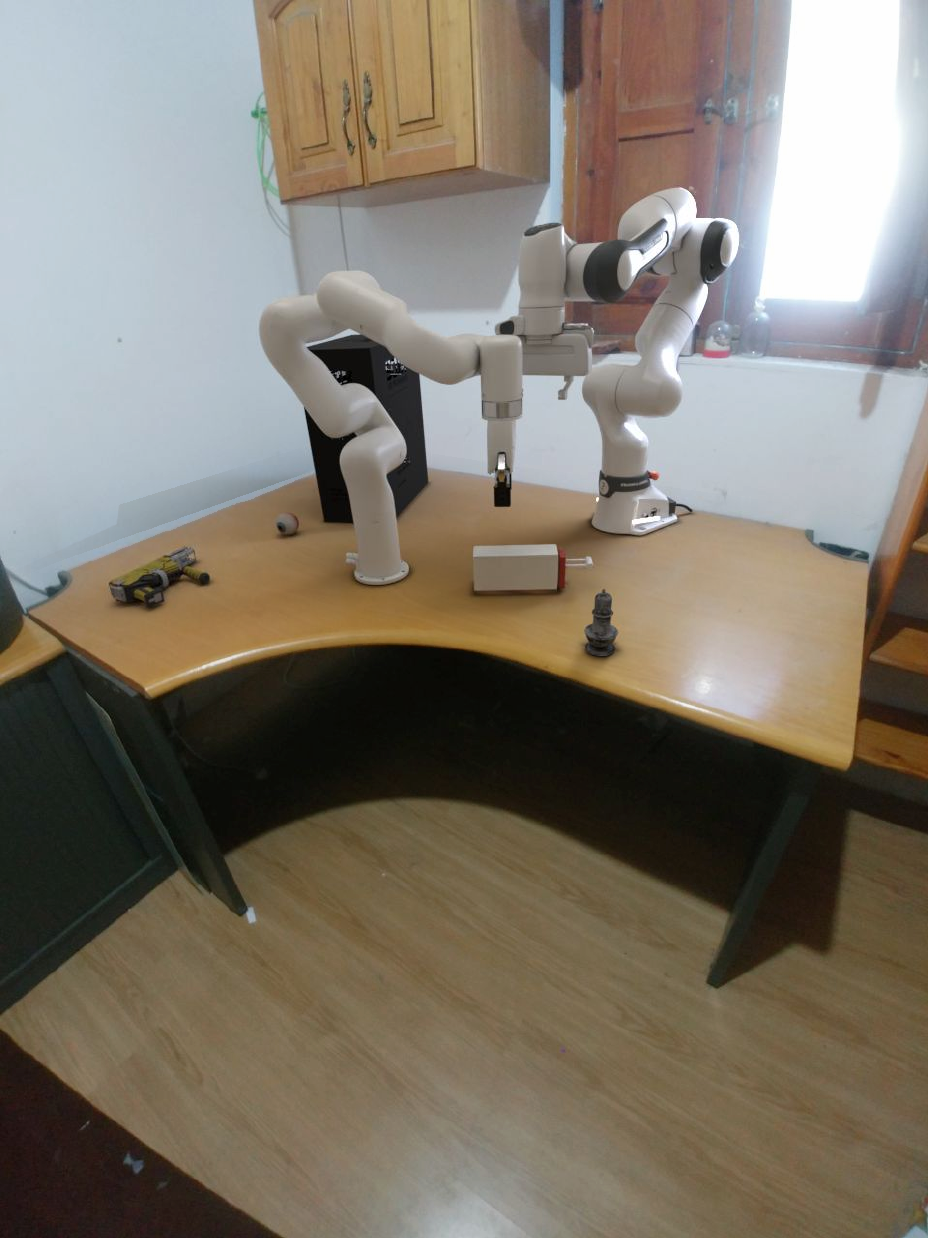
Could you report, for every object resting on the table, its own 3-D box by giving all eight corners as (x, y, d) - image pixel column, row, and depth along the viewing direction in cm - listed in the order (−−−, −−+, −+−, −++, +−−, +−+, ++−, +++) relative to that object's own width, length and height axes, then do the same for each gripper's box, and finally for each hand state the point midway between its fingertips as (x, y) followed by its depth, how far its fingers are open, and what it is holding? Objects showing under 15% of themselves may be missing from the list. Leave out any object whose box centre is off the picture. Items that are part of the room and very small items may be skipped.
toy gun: (232, 554, 147) (182, 544, 151) (158, 595, 127) (102, 582, 130) (235, 572, 149) (185, 561, 153) (162, 615, 129) (107, 601, 133)
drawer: (590, 578, 131) (591, 548, 127) (592, 587, 127) (594, 556, 123) (487, 580, 132) (486, 550, 129) (487, 589, 129) (486, 558, 125)
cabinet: (554, 581, 132) (555, 543, 128) (556, 593, 128) (557, 554, 123) (475, 583, 134) (473, 545, 129) (474, 594, 129) (472, 556, 124)
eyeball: (273, 537, 164) (268, 516, 161) (287, 528, 169) (282, 508, 166) (291, 539, 161) (286, 518, 158) (305, 530, 166) (301, 510, 163)
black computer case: (391, 523, 168) (370, 347, 145) (324, 521, 172) (293, 350, 150) (428, 482, 199) (416, 332, 177) (370, 481, 204) (351, 334, 181)
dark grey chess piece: (616, 658, 105) (622, 597, 99) (582, 655, 106) (586, 595, 100) (616, 640, 110) (621, 581, 104) (583, 638, 111) (587, 580, 105)
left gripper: (484, 400, 119) (486, 484, 128) (478, 419, 104) (481, 513, 113) (522, 399, 119) (522, 484, 127) (522, 418, 104) (522, 513, 112)
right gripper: (598, 321, 115) (594, 397, 122) (498, 322, 122) (500, 394, 129) (590, 323, 110) (586, 403, 117) (486, 325, 118) (488, 399, 124)
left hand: (503, 498), depth 120 cm, fingers open, 9 cm apart
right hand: (540, 398), depth 123 cm, fingers open, 8 cm apart
